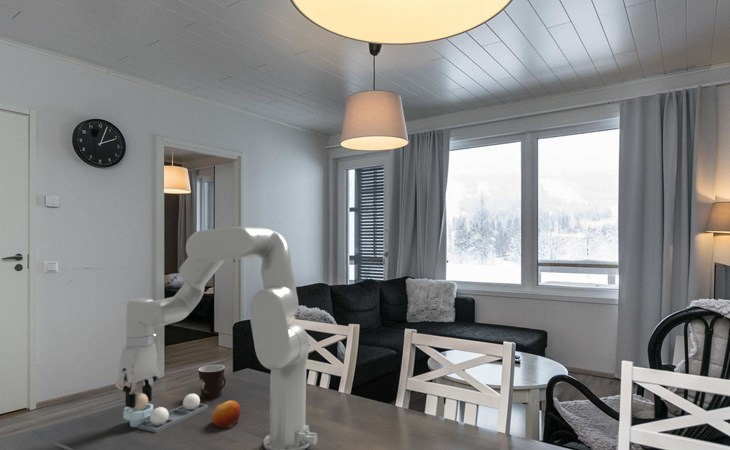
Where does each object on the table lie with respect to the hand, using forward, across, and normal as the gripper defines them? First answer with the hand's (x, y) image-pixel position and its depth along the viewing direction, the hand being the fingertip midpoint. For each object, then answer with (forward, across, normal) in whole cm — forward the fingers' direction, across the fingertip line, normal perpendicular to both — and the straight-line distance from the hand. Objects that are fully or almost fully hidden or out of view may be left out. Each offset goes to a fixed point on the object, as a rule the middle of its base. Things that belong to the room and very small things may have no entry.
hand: (138, 403), depth 133 cm
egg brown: (+2, 0, 0) cm, 2 cm away
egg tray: (+7, -8, +6) cm, 12 cm away
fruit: (+7, -11, +23) cm, 26 cm away
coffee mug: (+7, -26, +4) cm, 27 cm away
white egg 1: (+6, -2, +6) cm, 9 cm away
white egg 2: (+6, -15, +6) cm, 17 cm away
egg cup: (+7, 0, 0) cm, 7 cm away
